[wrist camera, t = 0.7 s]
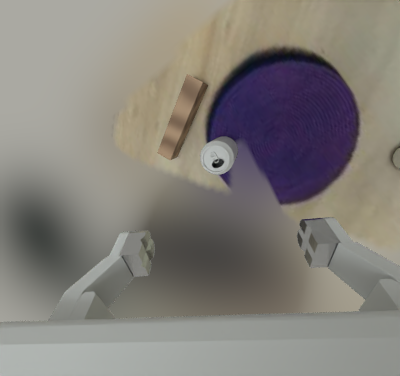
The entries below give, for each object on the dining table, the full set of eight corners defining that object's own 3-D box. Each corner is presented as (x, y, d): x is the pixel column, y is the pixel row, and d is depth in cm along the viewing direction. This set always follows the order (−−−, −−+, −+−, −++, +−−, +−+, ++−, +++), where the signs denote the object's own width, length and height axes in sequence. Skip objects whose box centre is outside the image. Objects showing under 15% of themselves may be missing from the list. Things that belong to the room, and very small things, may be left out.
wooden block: (193, 77, 48) (187, 74, 44) (208, 85, 48) (202, 82, 43) (165, 149, 57) (157, 152, 52) (177, 156, 56) (170, 160, 52)
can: (218, 168, 54) (208, 182, 44) (205, 144, 53) (191, 152, 42) (243, 156, 51) (239, 167, 41) (230, 130, 50) (222, 134, 39)
